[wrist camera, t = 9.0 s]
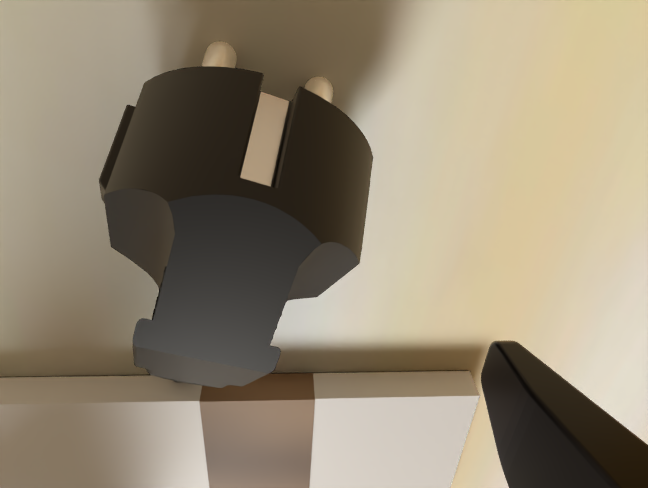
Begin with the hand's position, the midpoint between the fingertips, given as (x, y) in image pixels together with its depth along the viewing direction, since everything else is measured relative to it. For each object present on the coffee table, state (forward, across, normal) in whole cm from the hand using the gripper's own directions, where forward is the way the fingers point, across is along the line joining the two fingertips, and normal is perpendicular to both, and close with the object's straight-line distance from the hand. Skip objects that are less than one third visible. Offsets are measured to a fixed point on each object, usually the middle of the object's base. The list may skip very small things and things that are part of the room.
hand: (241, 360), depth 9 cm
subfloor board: (+7, +6, +12) cm, 15 cm away
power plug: (+7, +1, +2) cm, 8 cm away
